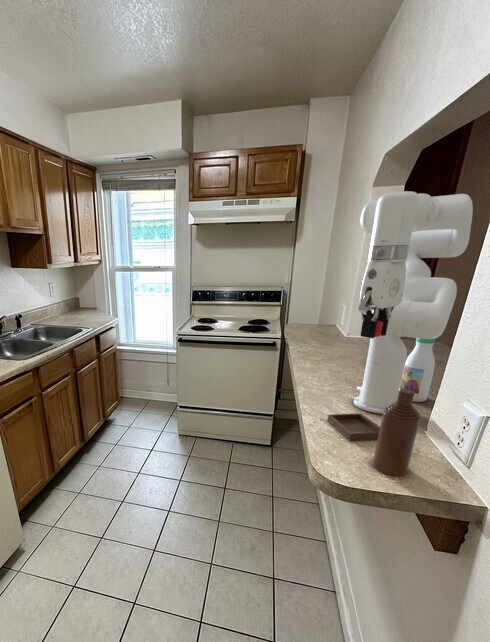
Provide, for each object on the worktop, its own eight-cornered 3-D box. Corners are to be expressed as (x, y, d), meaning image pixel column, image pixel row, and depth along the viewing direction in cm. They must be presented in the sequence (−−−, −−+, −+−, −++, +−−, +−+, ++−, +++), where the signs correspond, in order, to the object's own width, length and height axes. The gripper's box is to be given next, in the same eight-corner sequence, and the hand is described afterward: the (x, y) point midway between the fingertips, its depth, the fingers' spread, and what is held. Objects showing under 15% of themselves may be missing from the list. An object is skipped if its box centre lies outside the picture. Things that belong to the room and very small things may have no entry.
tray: (327, 421, 99) (328, 414, 99) (359, 419, 100) (360, 413, 99) (349, 440, 89) (350, 433, 88) (385, 438, 89) (387, 431, 88)
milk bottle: (415, 393, 117) (429, 333, 110) (432, 402, 110) (448, 339, 103) (392, 394, 117) (405, 334, 110) (408, 403, 110) (422, 339, 103)
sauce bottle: (366, 460, 80) (381, 386, 74) (393, 459, 80) (410, 385, 74) (384, 477, 74) (402, 397, 68) (414, 475, 74) (434, 396, 68)
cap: (372, 337, 83) (375, 323, 82) (358, 334, 86) (360, 320, 85) (384, 336, 84) (387, 322, 83) (370, 332, 87) (373, 319, 86)
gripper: (383, 255, 72) (367, 343, 78) (425, 253, 79) (408, 334, 86) (348, 256, 78) (337, 337, 84) (391, 254, 85) (377, 329, 92)
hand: (373, 335), depth 85 cm, fingers closed on cap, 3 cm apart
